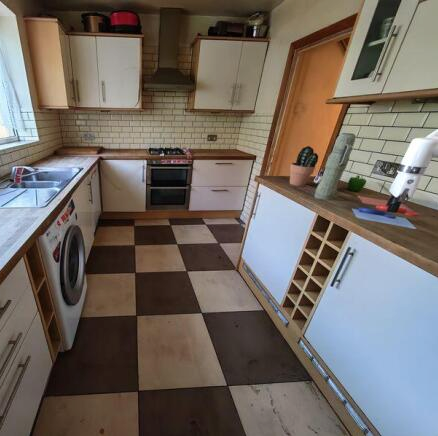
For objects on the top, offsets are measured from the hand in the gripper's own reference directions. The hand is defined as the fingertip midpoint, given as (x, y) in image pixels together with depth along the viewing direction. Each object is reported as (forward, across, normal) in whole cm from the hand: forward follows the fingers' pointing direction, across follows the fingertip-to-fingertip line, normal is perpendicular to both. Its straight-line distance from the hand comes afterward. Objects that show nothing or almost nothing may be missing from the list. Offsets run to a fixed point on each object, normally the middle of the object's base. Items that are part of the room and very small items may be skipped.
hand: (390, 210), depth 101 cm
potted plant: (+5, +46, +34) cm, 58 cm away
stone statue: (+6, +22, +22) cm, 31 cm away
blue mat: (+6, +3, 0) cm, 6 cm away
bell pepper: (+6, +52, +4) cm, 52 cm away
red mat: (+6, +31, -6) cm, 32 cm away
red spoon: (0, 0, -2) cm, 2 cm away
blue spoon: (+5, +7, +2) cm, 9 cm away
